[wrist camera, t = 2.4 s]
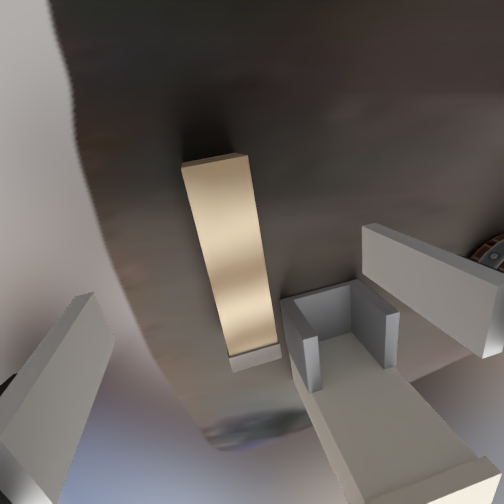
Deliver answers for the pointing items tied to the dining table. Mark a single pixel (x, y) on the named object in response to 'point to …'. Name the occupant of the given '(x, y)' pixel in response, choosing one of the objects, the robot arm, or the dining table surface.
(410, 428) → the u-notched block
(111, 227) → the dining table surface
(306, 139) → the dining table surface
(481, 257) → the mug
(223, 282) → the rail
